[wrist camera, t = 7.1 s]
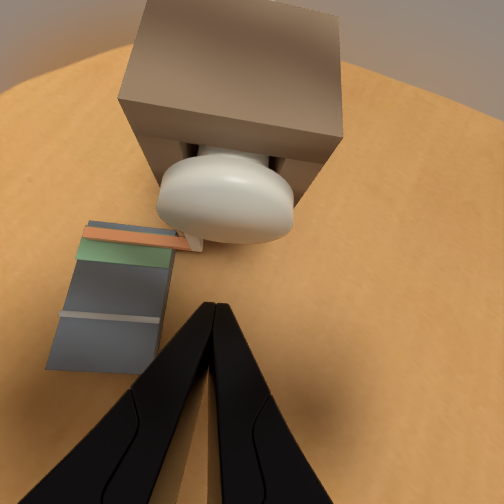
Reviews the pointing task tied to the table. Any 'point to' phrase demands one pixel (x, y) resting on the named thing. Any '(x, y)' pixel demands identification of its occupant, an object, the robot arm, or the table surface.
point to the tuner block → (187, 143)
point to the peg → (215, 203)
